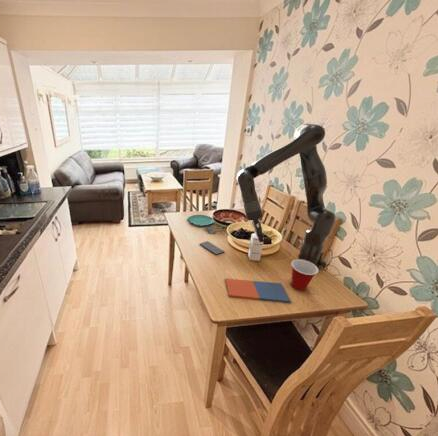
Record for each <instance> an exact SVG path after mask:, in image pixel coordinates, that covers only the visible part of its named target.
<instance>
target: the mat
mask: <svg viewBox="0 0 438 436" xmlns="http://www.w3.org/2000/svg"><path fill="white" fill-rule="evenodd" d="M224 281H225V284H226V288H227V293H228V297H229V298H238V299H239V298H240V299H247V300H248V299H249V300H258V301H267V302H268V301H269V302H278V303H289V304H291V302H292V301H291V299H290V297H289V295H288V293H287V292H286V290H285V288H284V286H283V284H282V283H281V282H280V283H279V282H269V281H257V280H245V279H236V278H234V279H233V278H225V280H224Z"/></svg>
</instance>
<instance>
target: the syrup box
mask: <svg viewBox="0 0 438 436" xmlns="http://www.w3.org/2000/svg"><path fill="white" fill-rule="evenodd" d="M248 247H249V248H248V252H247V256H248V259H249V261H255V262H260V261H261V257H262V252H263V247H264V242H259V239H258V236H257V234H256V233H251V234H250V241H249V246H248Z"/></svg>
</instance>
